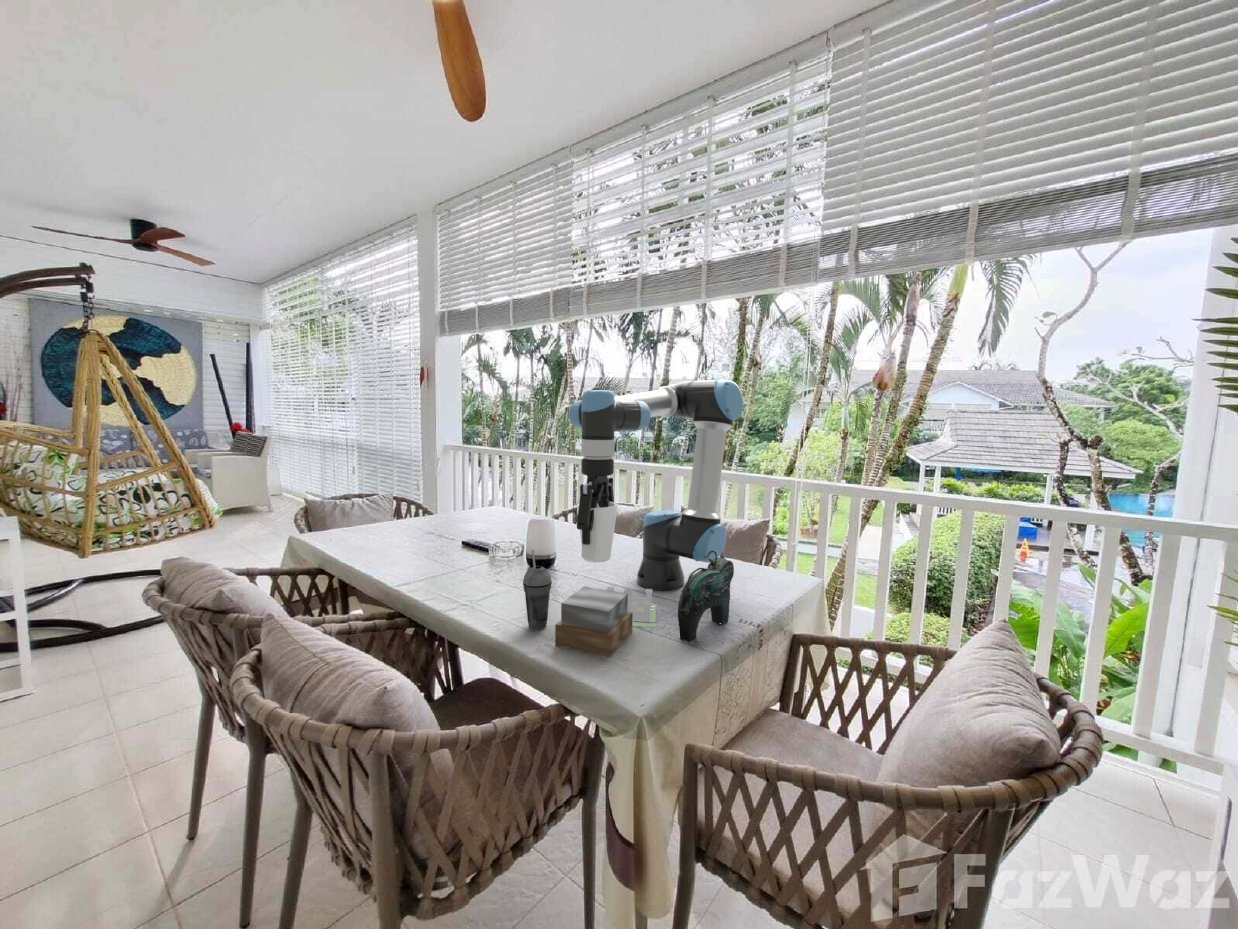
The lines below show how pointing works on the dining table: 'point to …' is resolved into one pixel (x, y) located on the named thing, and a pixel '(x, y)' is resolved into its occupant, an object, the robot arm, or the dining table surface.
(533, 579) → the beverage cup
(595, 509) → the foam cup
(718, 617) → the green elephant statue
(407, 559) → the dining table surface
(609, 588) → the castle model
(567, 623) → the block tower
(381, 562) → the dining table surface
